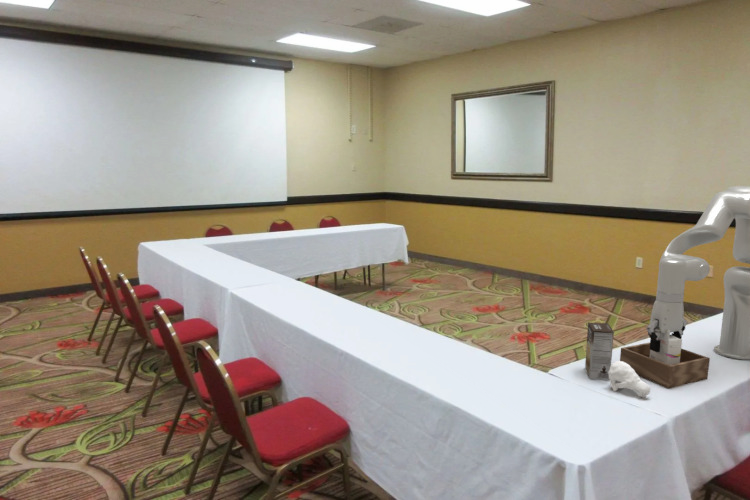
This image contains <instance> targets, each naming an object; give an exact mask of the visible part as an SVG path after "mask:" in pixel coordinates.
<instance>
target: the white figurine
mask: <svg viewBox="0 0 750 500" xmlns="http://www.w3.org/2000/svg"><path fill="white" fill-rule="evenodd" d="M608 374H609V380H608V381H609V383H610V385H611V388H612V391H613V392H617V391H618V389H627V390H631V391H634V392H636V394H637V397H638V398H643V399H644V398H645V397H647V396H648V395H650V394H651V393H650V392H651V387H650V386H649V384H648V383H647V382H644V381H643V380H641V377H639V376H638V375H637V374H636V372H635V370H634V369H633V368H631V366H630V365H629V364H627V363H625V362H623V361H620V360H616V361H615V362H613V363H611V366H610V370H609V371H608Z"/></svg>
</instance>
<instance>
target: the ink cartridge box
mask: <svg viewBox="0 0 750 500" xmlns="http://www.w3.org/2000/svg"><path fill="white" fill-rule="evenodd" d="M658 330H659V329H658ZM655 334H656V335H657V334H658V333H657V332H656V333H655ZM659 340H661V343H660V352H655V351H652V350H650V357H649V358H652V359H655V360H657V361H660V362H663V363H665V364H668V365H673V364H678V363H680V355H681V348H682V344H683V343H682V342H683V339H682V338H681V339H679V338H677V337H675V336H673V335H671V333H670V330H667V333H666V334H662V336H661V337H660V339H659Z"/></svg>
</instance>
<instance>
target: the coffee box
mask: <svg viewBox="0 0 750 500" xmlns="http://www.w3.org/2000/svg"><path fill="white" fill-rule="evenodd" d="M586 335H587V336H586V350H585V361H584V362H585V364H584V369H585V371H586V373H587V376H588V378H589V380H599V381H610V380H609V374H608V371H609V370H610V366H611V365H612V357H613V348H614V335H615V332H614V330H613V329H612V327H611V325H610V324H609V322H608V323H607V322H605V323H604V322H588V323H587V334H586Z"/></svg>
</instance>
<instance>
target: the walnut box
mask: <svg viewBox="0 0 750 500" xmlns="http://www.w3.org/2000/svg"><path fill="white" fill-rule="evenodd" d="M649 357H650V342H645V343H639V344H633V345H630V346H624V347H623V346H622V347H620V355H619V361H623V362H625V363H627V364H629V365H630V366H631V368H633V369H634V370H635V372H636V374H637V375H638V376H639V378H642V379H644V380H646V381H649V382H651V383H654V384H656V385H659V386H661V387H663V388H666V389H668V390H670V389H672V388H678V387H682V386H685V385H686V386H687V385H689V384H694V383H697V382H702V381H706V380H708V379H709V378H708V377H709V371H710V370H709V369H710V368H709V367H710V360H711V358H710V357H708V356H705V355H702V354H700V353H696V352H693V351H690V350H687V349H684V348H682V347H681V355H680V363H678V364H673V365H668V364H665V363H663V362H660V361H657V360H655V359H652V358H649Z"/></svg>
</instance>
